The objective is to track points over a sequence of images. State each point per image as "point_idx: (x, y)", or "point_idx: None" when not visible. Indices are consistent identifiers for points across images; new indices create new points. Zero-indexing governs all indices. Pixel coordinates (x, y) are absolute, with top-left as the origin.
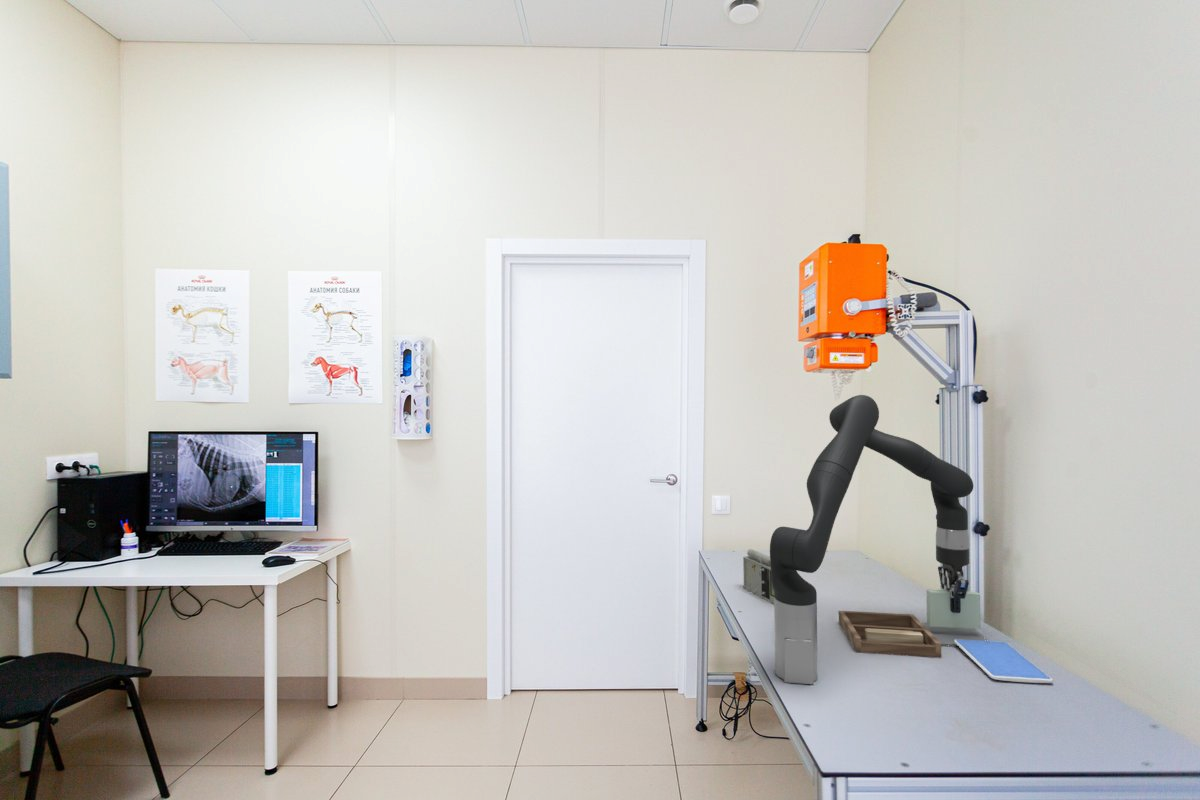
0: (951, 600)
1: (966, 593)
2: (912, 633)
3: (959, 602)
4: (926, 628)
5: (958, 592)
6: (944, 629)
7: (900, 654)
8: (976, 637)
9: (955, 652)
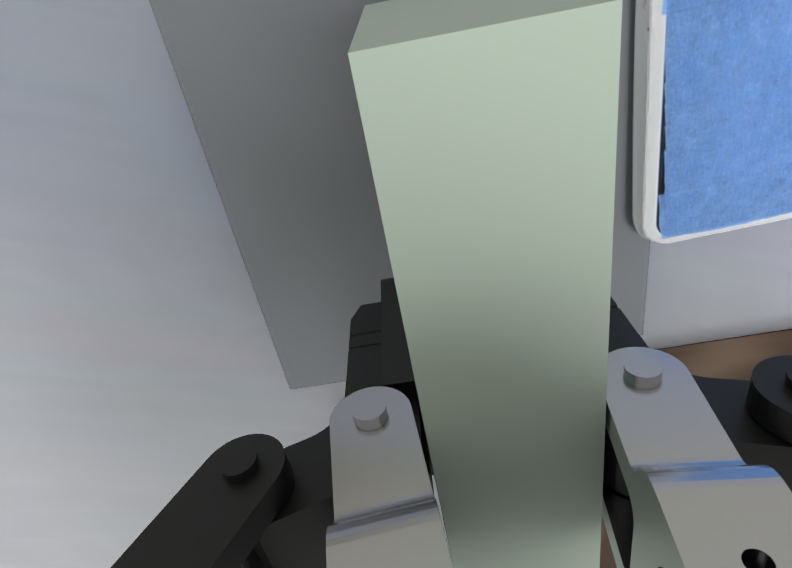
0: None
1: (581, 303)
2: None
3: (641, 342)
4: None
5: (636, 447)
6: (359, 242)
7: None
8: None
9: (743, 236)
